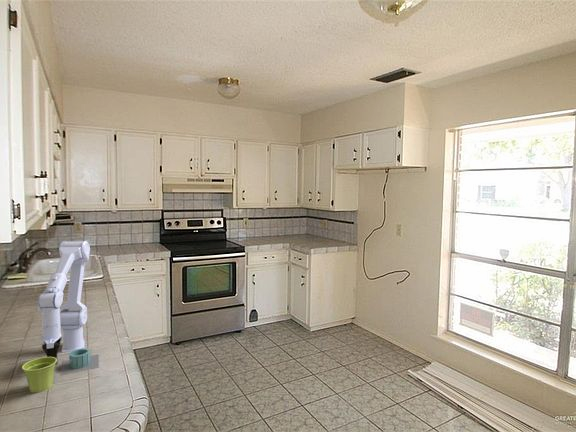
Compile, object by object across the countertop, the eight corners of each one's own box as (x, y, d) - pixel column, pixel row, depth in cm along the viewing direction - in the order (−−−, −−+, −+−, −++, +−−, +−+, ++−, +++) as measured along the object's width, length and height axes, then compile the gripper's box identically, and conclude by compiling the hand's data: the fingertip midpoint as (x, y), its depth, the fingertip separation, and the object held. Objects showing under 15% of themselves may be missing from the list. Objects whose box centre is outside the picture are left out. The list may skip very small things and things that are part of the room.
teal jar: (70, 362, 136) (69, 350, 136) (90, 358, 140) (90, 347, 139) (69, 370, 131) (68, 358, 130) (90, 366, 134) (90, 354, 133)
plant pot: (20, 388, 119) (19, 362, 119) (54, 378, 126) (53, 353, 125) (26, 400, 113) (24, 373, 112) (61, 388, 119) (60, 363, 119)
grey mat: (62, 362, 138) (62, 361, 138) (98, 355, 143) (98, 354, 143) (60, 376, 127) (60, 375, 127) (98, 368, 133) (98, 367, 133)
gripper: (40, 319, 139) (42, 354, 140) (35, 333, 126) (37, 370, 127) (62, 316, 142) (63, 350, 143) (59, 329, 129) (61, 366, 130)
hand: (52, 359), depth 135 cm, fingers closed on walnut peg, 3 cm apart
